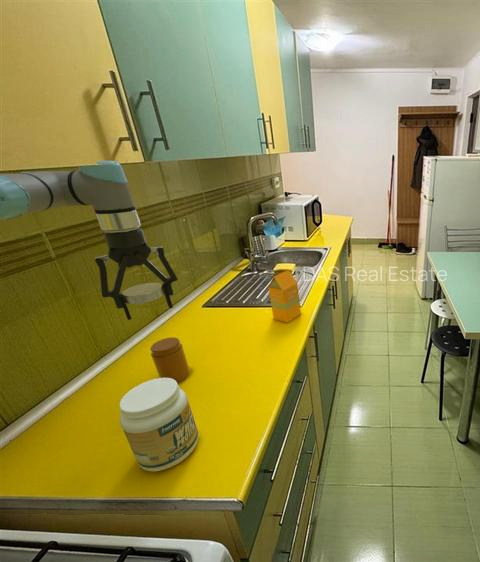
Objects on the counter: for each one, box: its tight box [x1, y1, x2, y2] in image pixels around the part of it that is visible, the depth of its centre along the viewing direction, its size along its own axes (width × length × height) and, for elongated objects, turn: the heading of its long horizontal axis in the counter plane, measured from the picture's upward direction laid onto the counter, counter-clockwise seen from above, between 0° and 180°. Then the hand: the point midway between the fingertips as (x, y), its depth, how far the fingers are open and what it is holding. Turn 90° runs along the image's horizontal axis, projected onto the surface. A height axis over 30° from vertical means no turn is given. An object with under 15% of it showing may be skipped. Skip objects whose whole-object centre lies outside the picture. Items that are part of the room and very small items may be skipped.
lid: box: [121, 282, 165, 305], centre depth 80 cm, size 9×9×2 cm
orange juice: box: [268, 268, 302, 324], centre depth 126 cm, size 8×9×20 cm
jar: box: [149, 336, 191, 384], centre depth 93 cm, size 8×8×12 cm
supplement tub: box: [119, 377, 199, 472], centre depth 68 cm, size 12×12×17 cm
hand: (150, 311), depth 82 cm, fingers closed on lid, 9 cm apart
